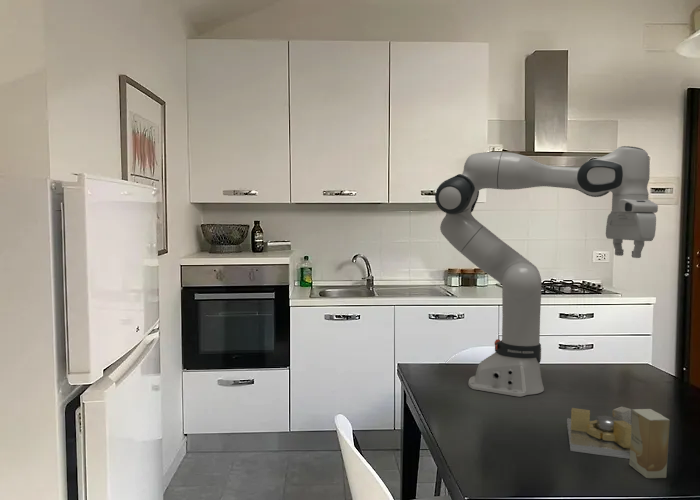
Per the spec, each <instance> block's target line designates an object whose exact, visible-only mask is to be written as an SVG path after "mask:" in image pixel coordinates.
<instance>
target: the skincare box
mask: <svg viewBox="0 0 700 500" xmlns="http://www.w3.org/2000/svg"><path fill="white" fill-rule="evenodd" d="M670 421H671V420H670V419H669V418H667V417H666V416H664V415H662V414H661V413H660V412H657V411H655V410H653V409H652V408H635V409H633V408H632V409H631V425H632V427H631V445H630V459H629V465H630V467H631V468H633V469H634V470H635V471H636V472H638V473H639V474H641V475H642V476H643V477H644V478H646V479H666V478H667V471H668V470H667V468H668V457H669V456H668V455H669V454H668V453H669V440H670V438H669V436H670Z"/></svg>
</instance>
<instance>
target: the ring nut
mask: <svg viewBox="0 0 700 500" xmlns="http://www.w3.org/2000/svg"><path fill="white" fill-rule="evenodd" d="M570 412H571V414H570V419H571V430H577V431H584V432H587V433H588V434H589V435H591V436H594V437H596V438H598V439H602V440H608V441H615V442H616V443H618V444H619V445H620V446H622V447H623V448H630V445H631V427H632V408H628V407H625V406H619V407H617V408H614V409H612V417H615V418H617V419H619V420H620V421H614V431H613V433H610V432H603V431H601V430H598V429H596V426H597V419H595V420H590V419H591V418H590V416H591V410H589V409H584V408H575V407H571V410H570Z"/></svg>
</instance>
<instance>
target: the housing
mask: <svg viewBox="0 0 700 500" xmlns="http://www.w3.org/2000/svg"><path fill="white" fill-rule="evenodd" d="M596 420H597V426H596V429H598V430H601V431H603V432H610V433H613V431H614V421H620V420H619V419H617V418H615V417H613V416H610V415H598V416H597V417H596ZM566 427H567V428H566V429H567V434H568V441H569V442H568V443H569V449H570V452H577V453H583V454H589V455H590V454H591V455H599V456H606V457H611V458H612V457H614V458H620V459H628V460H630V448H623V447H622V446H620V445H619V444H618V443H616V442H615V441H608V440H602V439H598V438H596V437H594V436H591V435H589V434H588V433H587V432H584V431H577V430H571V417H570V418H569V417H567V419H566Z"/></svg>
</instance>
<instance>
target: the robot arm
mask: <svg viewBox="0 0 700 500" xmlns="http://www.w3.org/2000/svg"><path fill="white" fill-rule="evenodd" d="M463 165H464V166H463V171H462V173H461V174H460V173H458V174H457V175H454V176H452V177H450V178H448V179H446V180H444V181H443V182H441V183H440V184H439V186H438V187H437V189H436V191H435V195H434V197H435V198H434V199H435V204H436V206H437V207H438V209H439V210H440V211H442V212H443V213H445V216H444V217H443V218H442V220H441V221H440V222H441V223H440V226H439V228H440V229H439V230H440V232H441V235H443V237H444V238H445V239H446V240H447V241H448V242H449V244H450V245H451V246H452V247H454V249H455V250H456V251H458V252H459V253H460V254H462V255H463V257H464V258H466V259H467V260H468V261H470V262H471V263H472V264H473V265H475V266H476V267H477V268H479V269H480V270H481V271H483V272H484V273H486V274H487V275H488V276H490V277H492V278H493V279H494V280H495V281H497V282H498V283H500V284H501V285H502V287H501V288H502V291H501V293H502V294H501V295H502V296H501V297H502V300H501V301H502V304H501V305H502V306H501V307H502V309H501V310H502V313H501V314H502V321H501V322H502V324H501V326H502V327H501V339H495V341H494V353H492V354H491V355H489V356H487V357H486V358H484V359H483V360H481V361H480V363H479V364H478V366H477V367H476V372H475V375H472V376H471V377H469V380H468V384H467V385H468V387H469V388H470V389H472V390H475V391H476V390H477V391H483V392H488V393H495V394H500V395H505V396H513V397H519V398H520V397H524V396H529V395H537V394H541V393H543V392H544V391H545V388H544V385H543V384H544V383H543V379H542V373H541V365H540V363H541V361H542V344H541V343H540V335H541V334H540V333H541V332H540V331H541V329H540V328H541V307H542V304H541V303H542V277H541V274H540V273H541V272H540V271H539V269H538V268H537V266H536V265H535V264H534V263H532V262H531V261H530V260H528V259H527V258H526V257H525V256H523V255H522V254H520V253H519V252H518V251H516V250H515V249H514V248H512V247H511V246H510V245H508V244H507V243H506V242H504V241H503V240H502V239H501V238H500V237H498V236H497V235H496V234H495V233H493V232H492V231H491V230H489V228H487V227H486V226H484V225H483V224H482V223H481V222H479V221H478V220H477V219H476V218H475V217H474V216H473V214H472V212H473V211H474V209H475V207H476V204H477V202H478V198H479V195H480V190H485V189H492V190H493V189H495V190H507V191H508V190H521V189H530V188H531V189H532V188H536V187H537V188H540V187H549V188H550V187H551V188H562V189H570V190H576V191H579V192H580V193H582V194H585V195H586V196H588V197H592V198H599V197H600V198H601V197H603V196H605V195H607V194H608V193H610V192H611V193H612V199H611V211H610V213H609V214H608V216H607V218H606V226H605V237H606V239H607V240H608V239H611V240H612V244H613V248H614V255H615V256H617V257H618V256H620V257H623V256H624V249H623V241H633V245H634V246H633V249H632V250H631V257H632V258H634V259H640V258H642V251H643V248H644V247H645V242H652V241H653V240H654V239H655V236H656V229H657V227H656V226H657V216H656V214H655V213H658V211H659V210H658V209H659V205H658V204H657V203H655V202H654V201H652V200H651V199H649V191H648V186H649V185H648V184H649V182H650V173H651V172H650V171H651V170H650V169H651V168H650V157H649V154H648V152H647V151H646V150H645V149H643V148H641V147H636V146H629V145H628V146H626V145H624V146H619V147H617V148H616V149H615V150H613V151H612V152H609V153H608V154H605V155H603V156H600V157H598V158H593V159H590V160H588V161H586V162H585V163H583V164H582V165H581V166H579V167H570V166H569V167H568V166H559V165H558V166H557V165H550V164H544V163H541V162H539V161H537V160H534V159H533V158H531V157H530V156H528V155H523V154H519V153H514V152H507V151H486V152H484V151H483V152H477V153H473V154H470V155H469V156H468V157H467V158H466V160H465V162H464V164H463Z"/></svg>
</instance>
